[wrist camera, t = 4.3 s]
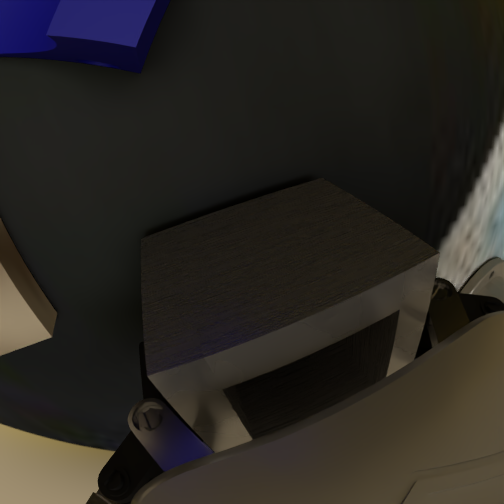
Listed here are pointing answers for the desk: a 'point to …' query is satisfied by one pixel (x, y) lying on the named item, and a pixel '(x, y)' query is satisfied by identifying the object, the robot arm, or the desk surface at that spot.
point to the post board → (20, 301)
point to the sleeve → (280, 309)
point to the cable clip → (81, 30)
